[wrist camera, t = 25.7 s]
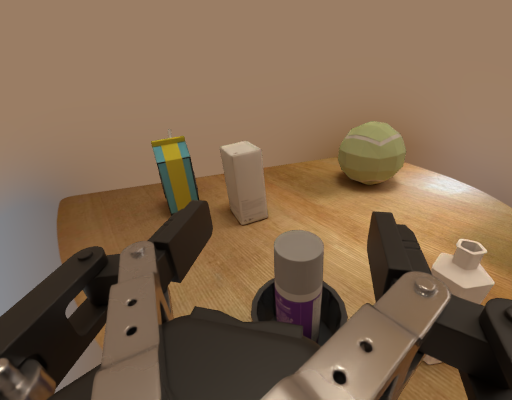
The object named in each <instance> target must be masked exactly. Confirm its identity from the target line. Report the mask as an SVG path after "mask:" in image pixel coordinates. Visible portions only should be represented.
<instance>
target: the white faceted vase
mask: <svg viewBox="0 0 512 400" xmlns="http://www.w3.org/2000/svg"><path fill="white" fill-rule="evenodd" d="M456 246H457V249H456V251H455V254H454V255H451V254H446V253H440V255H439V256H438V258H437V259H436V261H435V263H434V264H433V266H432V269H431V273H432V275H433V276H435V277H436V278H438V279H440V280H441V281H442V282H443V283H445V284H446V286H447V287H448V288H449V290H450V292H451V294H453V295H455V296H457V297H459V298H462V299H465V300H468V301H471V302H474V303H477V304H481V302H482V301H483V299H484V298H485V297H486V295H487V294H488V292H489V291H490V289H491V288H492V287H493V285H494V284H495V282H494V281H493V279H492V278H491V277H490V276H489V274H488V273H487V272H486V271H485V269H484V268H483V267H482V266H481V264H480V261H481V259H482V257H483V255H484V254H485V253H487V250H486V249H485V248H484V247H483V246H482V245H481V244H480V243H479V242H476V241H471V240H466V239H459V240H458V242H457V244H456ZM423 360H424V361H425V362H426V363H427V364H436V363H441V362H442V361H440V360H437V359H435V358H433V357H431V356H429V355H427V354H426V356H425V357H424V359H423Z"/></svg>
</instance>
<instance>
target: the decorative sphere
mask: <svg viewBox="0 0 512 400" xmlns="http://www.w3.org/2000/svg"><path fill="white" fill-rule="evenodd" d="M405 154H406V149H405V145H404V142H403V138H402V137H401V135H400V133H398V132H397V131H395V130H394V129H393V128H392V127H391V126H389V125H388V124H387V123H380V122H374V121H372V122H369V123H366V124H363V125H361V126H358V127H356V128H354V129H352V130H351V131H350V132H349V133H348V134H347V136H346V137H345V139H344V140H343V142H342V143H341V146H340V148H339V155H338V161H339V164H340V167H341V169H342V170H343V171H344V172H345V174H346V175H347V176H348V177H349V178H350V179H352V180H355V181H358V182H361V183H364V184H367V185H372V184H377V183H382V182H384V181H386V180H388V179H390V178H391V177H393V176H394V175H395V174H396V173H397V172H398V171H399V170H400V169H401V168H402V167H403V163H404V159H405Z"/></svg>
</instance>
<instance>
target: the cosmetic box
mask: <svg viewBox="0 0 512 400" xmlns="http://www.w3.org/2000/svg"><path fill="white" fill-rule="evenodd" d="M220 152H221V158H222V164H223V169H224V175H225V181H226V186H227V192H228V198H229V204H230V209H231V211H232V212H233V214H234V215H235V217H236V218H237V219H238V221H239V222H240V223H241V225H245V224H248V223H252V222H255V221H258V220H261V219H264V218H267V217H268V214H267V204H266V193H265V182H264V172H263V162H262V150H261V149H260V148H258V147H256V146H255V145H253V144H251V143H249V142H248V141H243V142H239V143H234V144H230V145H225V146H221V147H220Z"/></svg>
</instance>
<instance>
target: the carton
mask: <svg viewBox="0 0 512 400" xmlns="http://www.w3.org/2000/svg"><path fill="white" fill-rule="evenodd" d="M151 144H152V147H153V151H154V155H155V158H156V162H157V166H158V169H159V175H160V179H161V183H162V186H163V190H164V194H165V198H166V199H167V202H168V206H169V209H170V213H171V216H172V215H173V214H174V213H176V212H177V211H179V210H181V209H184V208H185V207H186V206H187V205H188V203H189V202H190V201H192V200H199V197H198V188H197V185H196V180H195V175H194V171H193V168H192V163H191V158H190V155H189V151H188V148H187V145H186V143H185V138H184V136H180V137H174V138H171V129H168V139H162V140H156V141H151Z"/></svg>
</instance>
